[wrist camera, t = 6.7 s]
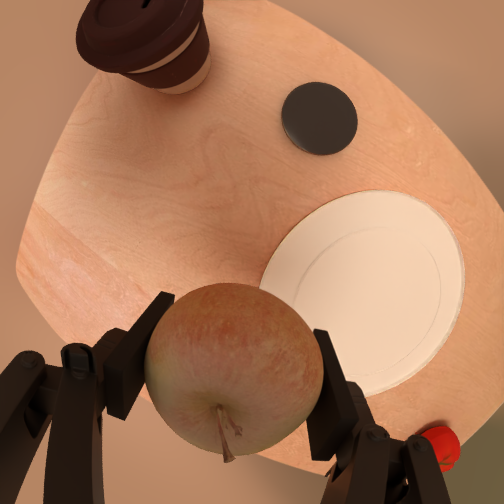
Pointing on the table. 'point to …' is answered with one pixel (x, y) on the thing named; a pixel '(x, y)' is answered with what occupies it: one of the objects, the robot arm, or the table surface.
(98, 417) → the robot arm
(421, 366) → the plate
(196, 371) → the fruit
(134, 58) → the coffee cup
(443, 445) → the tomato
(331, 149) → the slate coaster
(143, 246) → the table surface
